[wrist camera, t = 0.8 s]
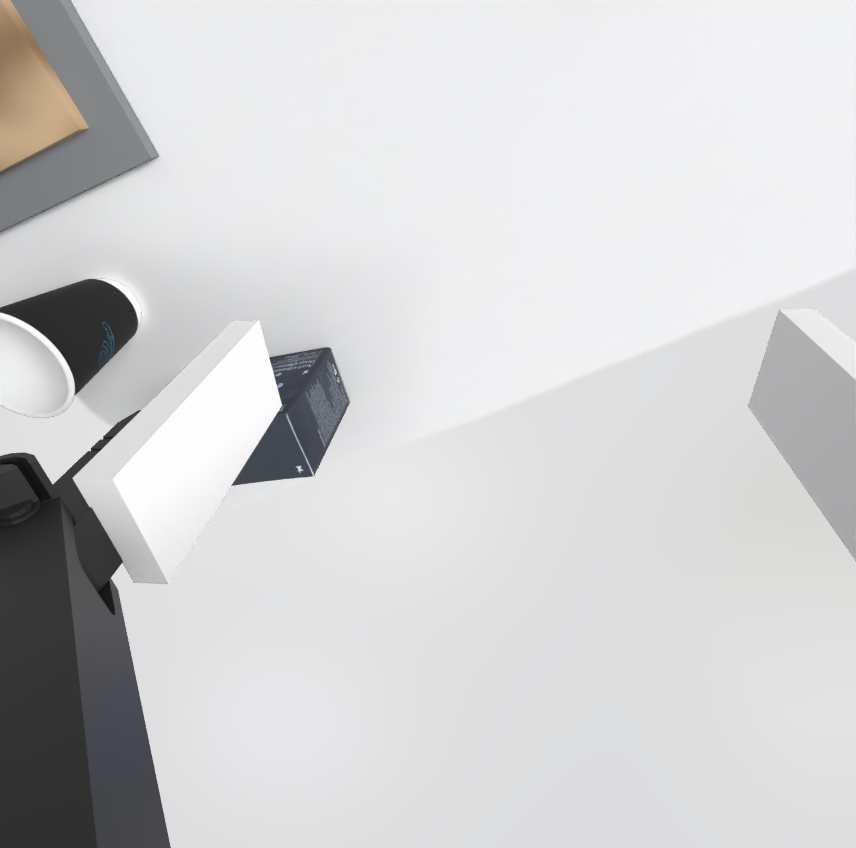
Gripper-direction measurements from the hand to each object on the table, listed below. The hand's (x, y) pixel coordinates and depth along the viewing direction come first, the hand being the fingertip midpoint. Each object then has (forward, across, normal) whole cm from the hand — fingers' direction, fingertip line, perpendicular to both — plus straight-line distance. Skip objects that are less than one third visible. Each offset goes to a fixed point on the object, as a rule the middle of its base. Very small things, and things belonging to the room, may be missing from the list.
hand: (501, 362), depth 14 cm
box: (+26, -17, -15) cm, 35 cm away
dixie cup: (+26, -32, -8) cm, 42 cm away
